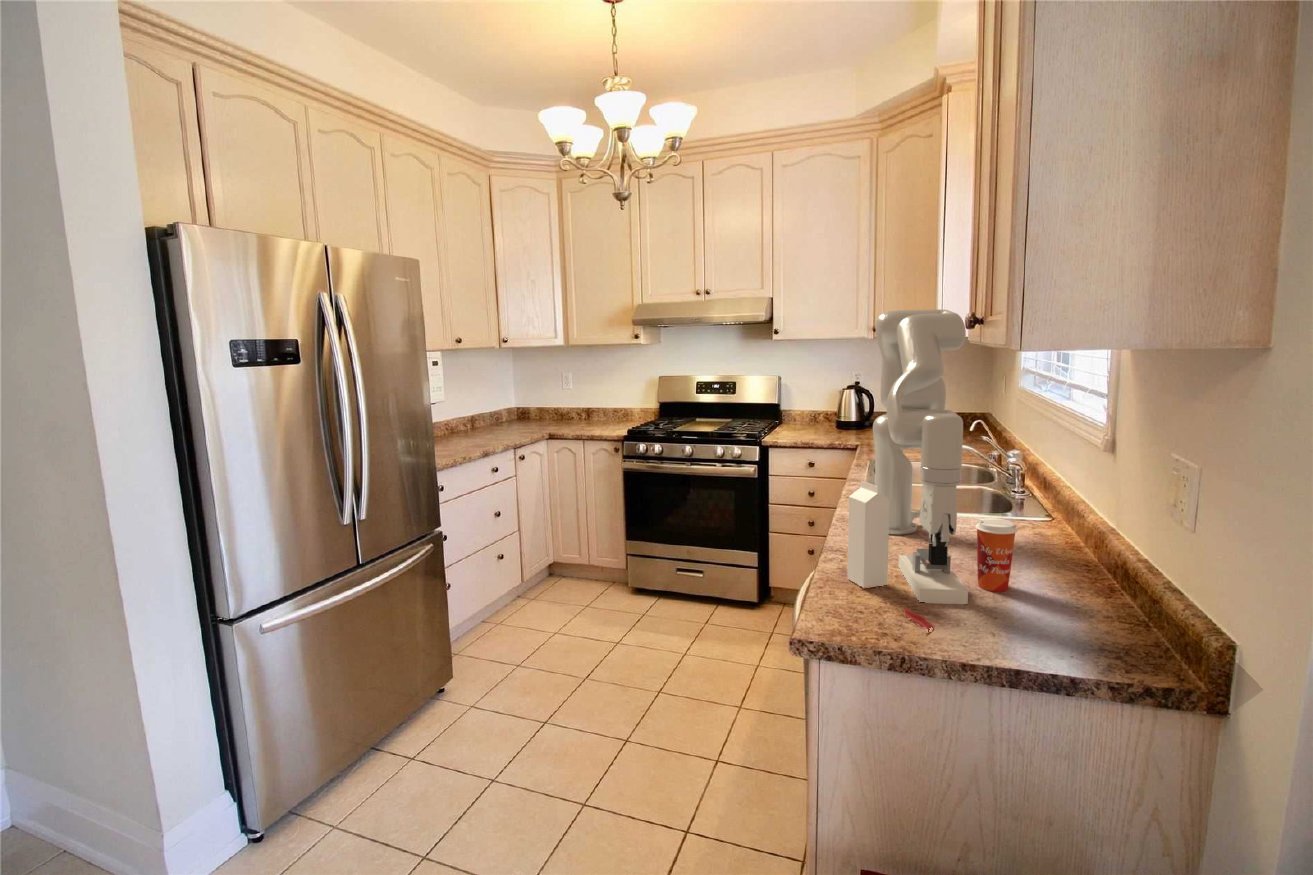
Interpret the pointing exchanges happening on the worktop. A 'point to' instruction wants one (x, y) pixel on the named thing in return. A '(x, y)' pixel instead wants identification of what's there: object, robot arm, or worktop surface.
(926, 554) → the breaker paddle
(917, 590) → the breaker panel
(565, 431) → the worktop surface
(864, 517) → the milk
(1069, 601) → the worktop surface
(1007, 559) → the paper cup
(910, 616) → the cayenne pepper
